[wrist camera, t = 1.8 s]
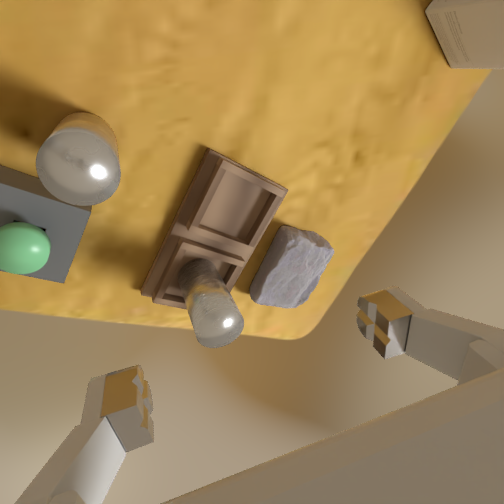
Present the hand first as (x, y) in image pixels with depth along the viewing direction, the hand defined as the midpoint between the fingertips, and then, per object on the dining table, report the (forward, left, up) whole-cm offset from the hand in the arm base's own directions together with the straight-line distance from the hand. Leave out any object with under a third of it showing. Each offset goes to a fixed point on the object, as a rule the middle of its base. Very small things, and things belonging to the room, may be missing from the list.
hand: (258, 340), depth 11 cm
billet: (-6, -1, -26) cm, 27 cm away
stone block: (+23, -6, -27) cm, 36 cm away
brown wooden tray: (+10, -6, -26) cm, 29 cm away
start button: (-8, -10, -24) cm, 28 cm away
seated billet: (+10, -11, -25) cm, 29 cm away
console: (-8, -10, -26) cm, 30 cm away
